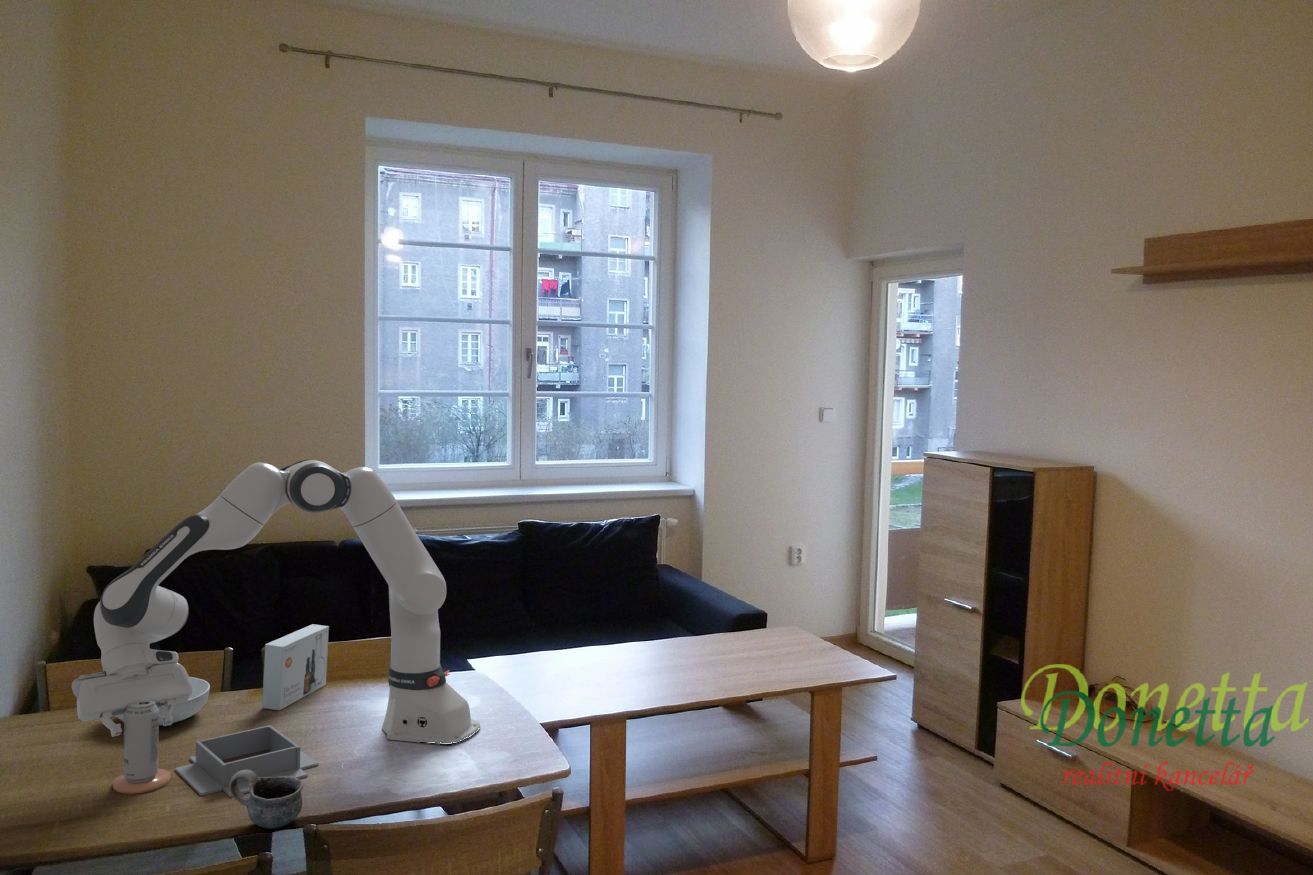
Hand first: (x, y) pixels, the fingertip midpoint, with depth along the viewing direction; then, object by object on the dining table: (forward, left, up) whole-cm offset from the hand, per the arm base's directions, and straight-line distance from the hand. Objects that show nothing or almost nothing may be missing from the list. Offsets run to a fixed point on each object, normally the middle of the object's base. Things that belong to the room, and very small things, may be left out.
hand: (143, 729), depth 187 cm
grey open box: (-12, -14, -11) cm, 22 cm away
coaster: (+1, 0, -11) cm, 11 cm away
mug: (-33, +4, -11) cm, 35 cm away
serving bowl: (+25, -27, -11) cm, 39 cm away
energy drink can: (+1, 0, -10) cm, 10 cm away
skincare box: (+9, -53, -11) cm, 55 cm away
